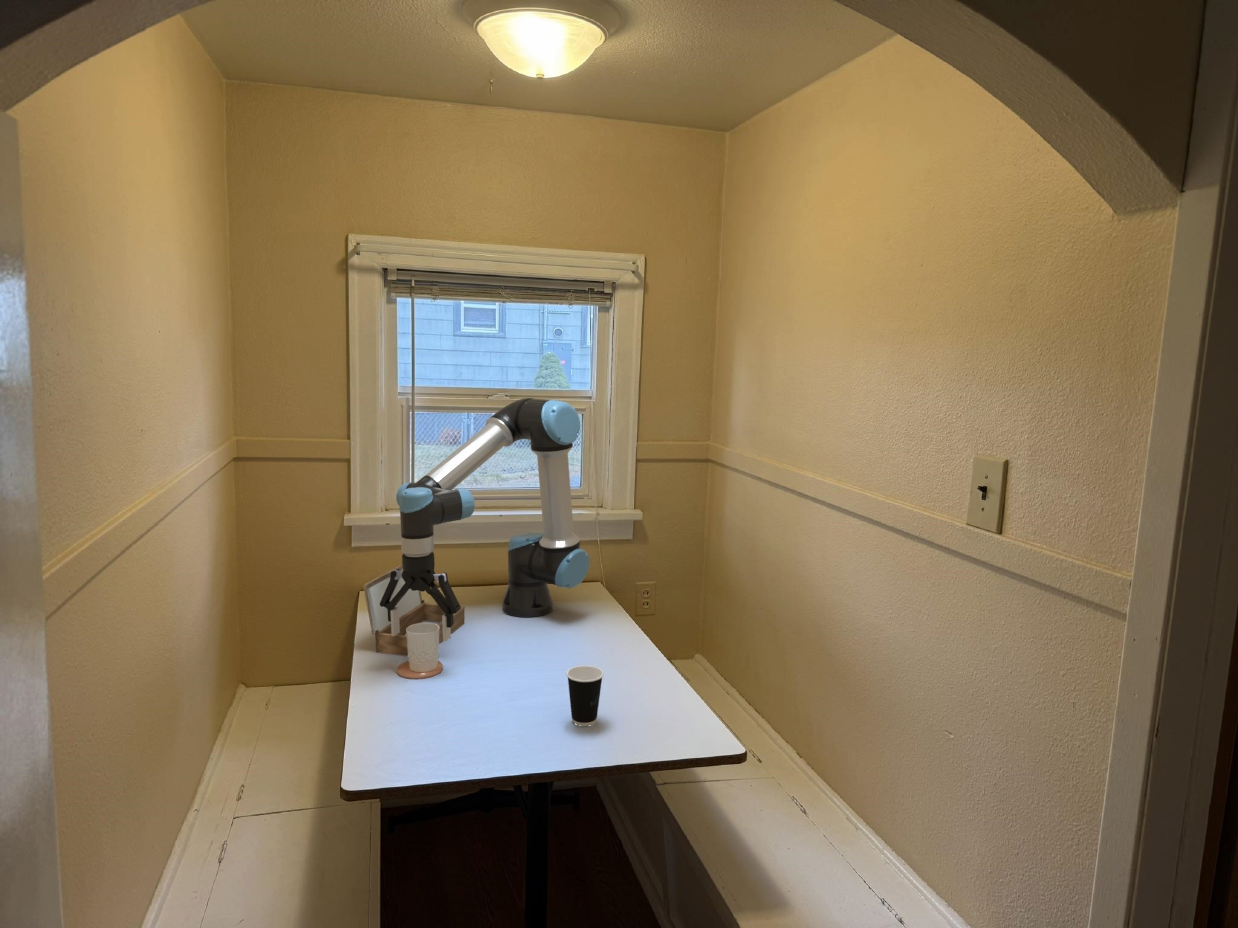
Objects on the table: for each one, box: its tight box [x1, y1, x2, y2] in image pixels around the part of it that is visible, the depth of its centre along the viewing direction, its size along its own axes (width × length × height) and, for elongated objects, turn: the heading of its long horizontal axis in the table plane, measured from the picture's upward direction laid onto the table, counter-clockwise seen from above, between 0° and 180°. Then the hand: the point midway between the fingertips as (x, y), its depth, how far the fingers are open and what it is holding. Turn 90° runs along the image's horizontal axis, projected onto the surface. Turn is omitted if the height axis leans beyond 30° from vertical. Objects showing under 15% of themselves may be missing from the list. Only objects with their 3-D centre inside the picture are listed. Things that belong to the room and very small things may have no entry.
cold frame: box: [374, 599, 466, 657], centre depth 215 cm, size 13×26×6 cm, turn 167°
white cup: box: [405, 622, 440, 672], centre depth 194 cm, size 8×8×10 cm
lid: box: [362, 564, 423, 635], centre depth 216 cm, size 13×26×1 cm
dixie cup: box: [565, 665, 605, 727], centre depth 169 cm, size 8×8×11 cm
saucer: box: [396, 660, 444, 680], centre depth 194 cm, size 11×11×1 cm
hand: (421, 636), depth 193 cm, fingers open, 13 cm apart
